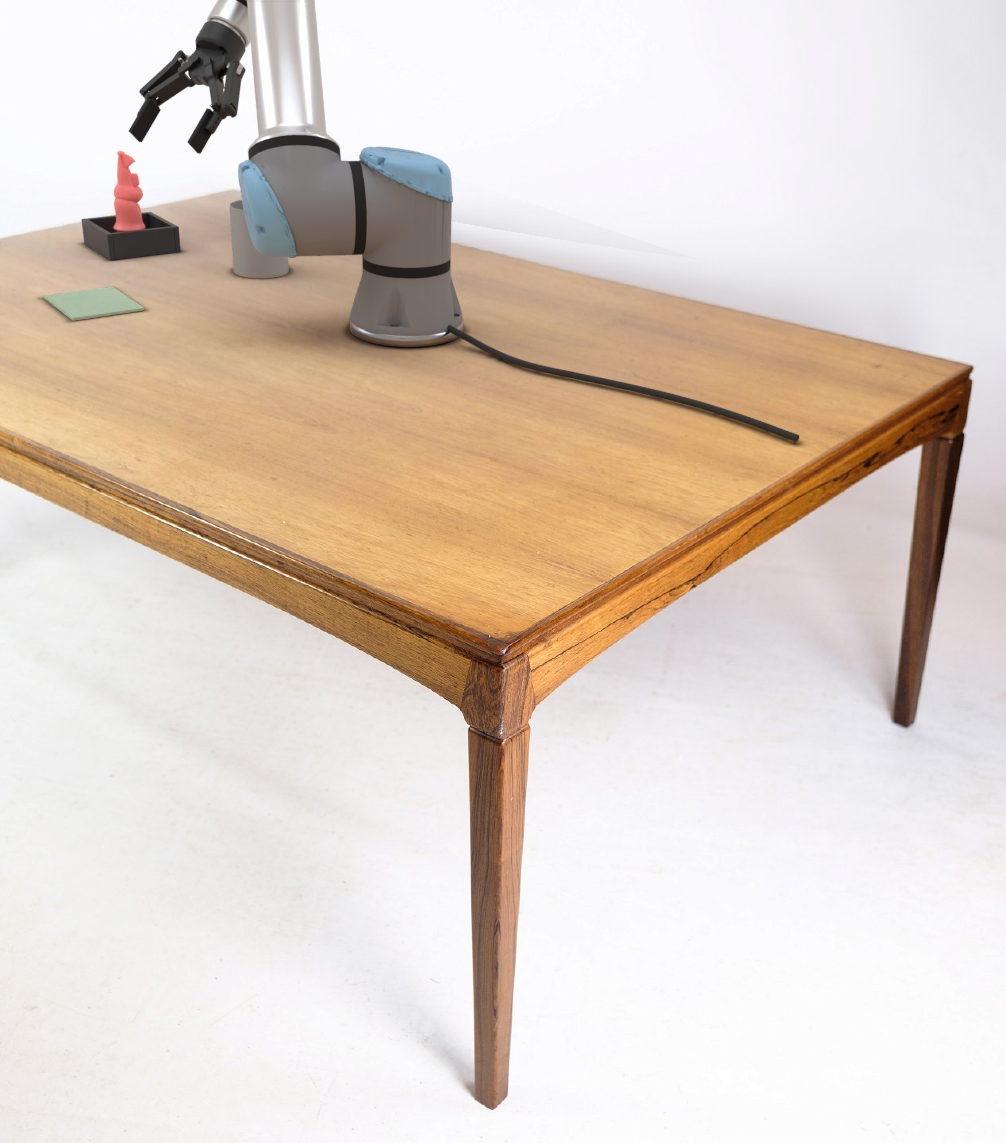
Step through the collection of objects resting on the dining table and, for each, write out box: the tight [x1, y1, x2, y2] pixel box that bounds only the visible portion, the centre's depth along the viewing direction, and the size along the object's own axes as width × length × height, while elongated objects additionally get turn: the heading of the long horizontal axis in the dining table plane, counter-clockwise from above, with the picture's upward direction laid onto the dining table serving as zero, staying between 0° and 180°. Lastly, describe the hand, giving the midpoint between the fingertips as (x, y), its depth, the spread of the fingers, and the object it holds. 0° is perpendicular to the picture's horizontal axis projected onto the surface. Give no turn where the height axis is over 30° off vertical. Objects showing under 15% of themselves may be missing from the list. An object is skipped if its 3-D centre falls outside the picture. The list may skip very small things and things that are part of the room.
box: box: [81, 211, 181, 261], centre depth 206 cm, size 12×12×4 cm
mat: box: [42, 286, 145, 322], centre depth 180 cm, size 12×10×1 cm
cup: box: [229, 199, 290, 279], centre depth 196 cm, size 8×8×10 cm
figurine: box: [113, 150, 146, 232], centre depth 204 cm, size 5×5×15 cm
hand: (163, 142), depth 206 cm, fingers open, 13 cm apart
